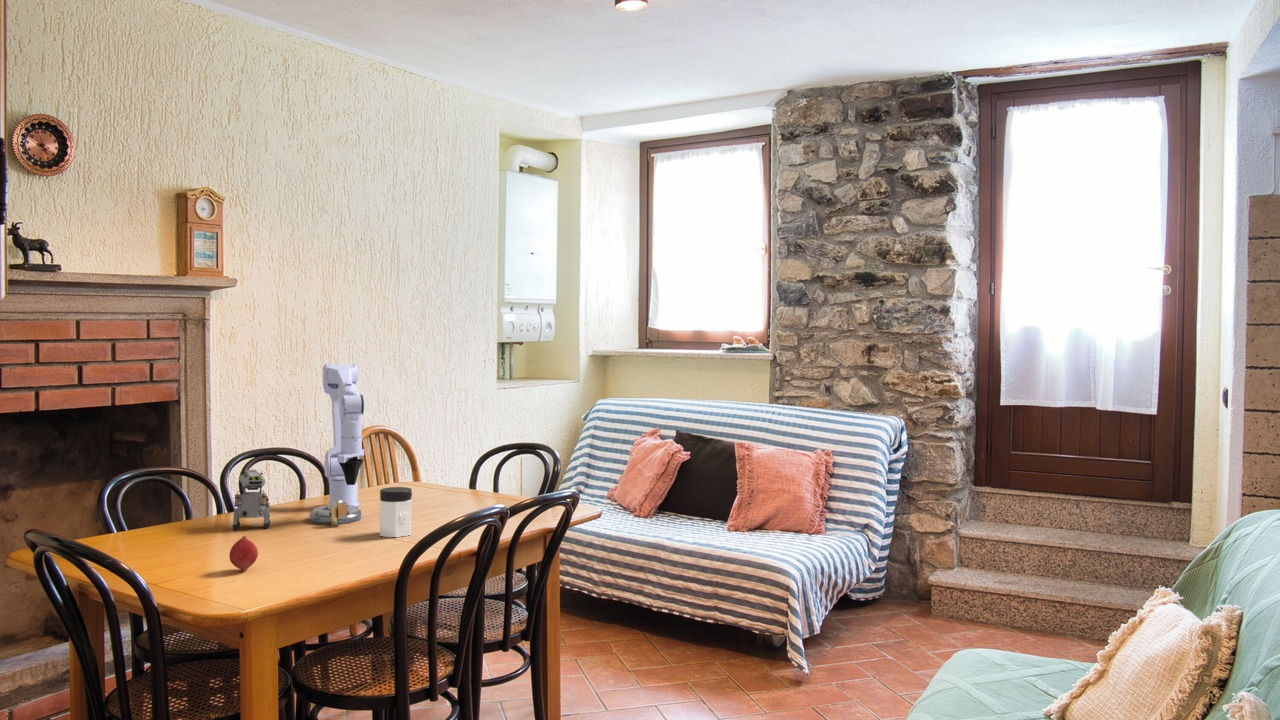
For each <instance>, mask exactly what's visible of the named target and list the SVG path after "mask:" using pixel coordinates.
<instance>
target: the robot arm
mask: <svg viewBox="0 0 1280 720" xmlns="http://www.w3.org/2000/svg"><path fill="white" fill-rule="evenodd" d="M358 371H359V370H358V366H357V364H356V363H352V364H351V363H345V364H343V363H341V364H339V363H338V364H337V363H336V364H335V363H334V364H333V363H331V364H328V363H324V365H323V367H322V382H323V383H322V389H323V391H324V392H323V393H326V394H327V395H328V396H329V397H330V400H331V411H332V415H331V416H332V432H333V433H332V434H333V447H331V448H330V449H328V450H327V451H326V452H325V455H324V476H325V477H326V478H327V479H329V500H331V499H342V500H343V502H346V503H347V505H354V506H356V507H357V508H358V506H360V505H361V502H358V494H359V493H358V489H359V488H358V487H359V486H358V485H359V484H358V482H357V479H358V476H359V475H360V472H361V466H362V464H363V463H364V459H363V458H360V457H364V456H365V449H364V448H363V445H362V444H363V443H362V441H363V439H362V438H363V436H362V435H363V430H362V429H363V415H364V412H365V399H364V395H363V394H360V392H359V390H358V387H357V382H358V379H359V378H358V377H359V376H358V375H359V374H358V373H359V372H358Z"/></svg>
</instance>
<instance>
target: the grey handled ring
mask: <svg viewBox="0 0 1280 720" xmlns="http://www.w3.org/2000/svg"><path fill="white" fill-rule="evenodd" d="M336 508H337V518H338V519H347V514H348V515H350V514H353V513H356V512H358V509H359V507H358V506H357V507H356V506H354V505H347V503H346V502H339V503H336ZM312 511H313V513H314V514H315V515H321V516H331V511H330V510H328V504H326V505H320V506H316V507H314V508H313V509H312Z"/></svg>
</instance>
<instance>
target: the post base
mask: <svg viewBox="0 0 1280 720" xmlns="http://www.w3.org/2000/svg"><path fill="white" fill-rule="evenodd" d="M327 501H328V503H327V505H328V510H330V511H331V508H336V503H339V502H343V500H342V499H331V500H330V499H328V500H327ZM360 519H361V520H362V510H361V509H359V508H358V512H356V513H353V514H350V515H348V514H347V519H338V518H337V525H346V523H347V524H352V523H351V522H353V523H356V522H355V521H357V522H359V521H361V520H360ZM358 520H359V521H358ZM308 521H309V522H310V523H311V522H312V523H311V524H314V523H317V524H316V525H322V524H331V516H321V515H315V514H314V513H313V510H311V512H309V520H308Z"/></svg>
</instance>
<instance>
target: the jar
mask: <svg viewBox="0 0 1280 720" xmlns="http://www.w3.org/2000/svg"><path fill="white" fill-rule="evenodd" d="M412 497H413V490H412V488H410V487H406V486H392V487H391V486H390V487H385V488H381V489H380V491H379V500H380V501H379V509H380V510H379V513H380V514H379V537H381V536H383V537H382V538H391V537H398V538H402V537H401V536H404V537H409V536H408V535H410V536H411V535H412Z"/></svg>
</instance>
